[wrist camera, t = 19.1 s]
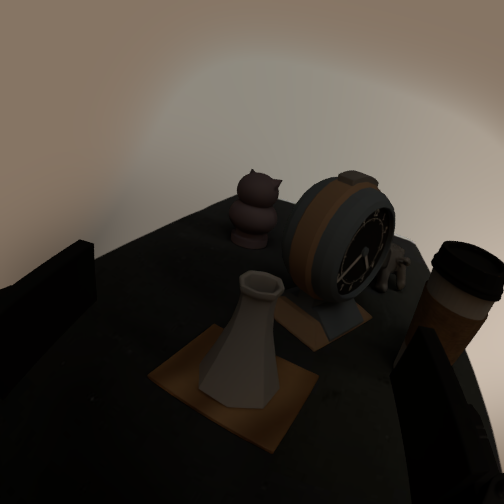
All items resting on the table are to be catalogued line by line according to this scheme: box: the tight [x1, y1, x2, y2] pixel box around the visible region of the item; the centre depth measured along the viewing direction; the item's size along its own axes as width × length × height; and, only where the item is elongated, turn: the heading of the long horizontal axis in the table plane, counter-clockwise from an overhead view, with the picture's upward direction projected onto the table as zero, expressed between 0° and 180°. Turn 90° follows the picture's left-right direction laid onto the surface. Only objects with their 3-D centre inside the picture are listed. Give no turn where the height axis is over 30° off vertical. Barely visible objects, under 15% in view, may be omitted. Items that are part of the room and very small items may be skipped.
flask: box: [199, 270, 285, 409], centre depth 24 cm, size 7×7×10 cm
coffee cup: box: [393, 241, 504, 369], centre depth 27 cm, size 8×8×15 cm
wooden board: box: [148, 324, 319, 454], centre depth 26 cm, size 12×10×1 cm
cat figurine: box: [229, 169, 282, 249], centre depth 52 cm, size 8×8×12 cm
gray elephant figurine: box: [375, 243, 411, 292], centre depth 47 cm, size 9×12×8 cm
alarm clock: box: [274, 170, 395, 352], centre depth 35 cm, size 14×10×18 cm
